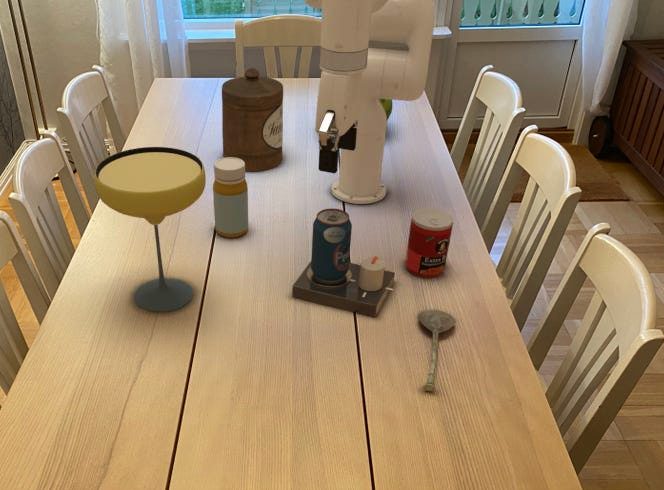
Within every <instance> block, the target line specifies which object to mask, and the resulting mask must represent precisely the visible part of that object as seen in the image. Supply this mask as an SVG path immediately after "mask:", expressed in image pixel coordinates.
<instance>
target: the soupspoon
mask: <svg viewBox="0 0 664 490" xmlns="http://www.w3.org/2000/svg"><path fill="white" fill-rule="evenodd" d="M417 318H418V320H419V322H420V323H421V324H422V325H423V326H424V327H425V328H427V330H429V331H430V332H431V333H432V340H431V342H432V344H431V356H430V357H431V358H430V367H429V373H428V374H427V375H428V377H427V379H426V383H425V384H424V385H423V390H425V391H427V392H433V391H434V390H435V389H436V387H435V385H434V384H435V383H434V380H435V379H434V377H435V369H436V362H437V350H438V341H439V334H441V333H444V332H446V331H449V330H450V329H451V328H453V327H454V326H455V325H456V322H457V321H456V319H455V317H454V316H452V314H450V313H448V312H445V311H442V310H438V309H428V310H423V311H421V312H419V313H418V314H417Z"/></svg>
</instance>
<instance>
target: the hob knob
mask: <svg viewBox="0 0 664 490" xmlns="http://www.w3.org/2000/svg"><path fill="white" fill-rule="evenodd" d="M359 265H360V272H359V282H358V285H359V287H360V288H361V289H363V290H366V291H377V290H380V289H381V288H382V286H383V277H384V270H385V269H386V263H385V262H384V261H383V259H380V258H378V256H376V255H375V256H374V257H373V256H372V257H365V258H363V259H361V260H360V263H359Z"/></svg>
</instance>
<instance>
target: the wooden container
mask: <svg viewBox="0 0 664 490" xmlns="http://www.w3.org/2000/svg"><path fill="white" fill-rule="evenodd" d="M221 109H222V110H221V121H222V122H221V124H222V125H221V126H222V128H221V130H222V155H223V156H222V158H227V157H233V158H239V159H241V160H243V161H244V163H245V172H261V171H266V170H270V169H274V168H275V167H277V166H278V165H280V164H281V163H282V161H283V141H284V140H283V139H284V137H283V136H284V84H283V83H282V82H280V81H279V80H277V79H275V78H272V77H267V76H260V71H259V70H258V69H256V68H254V67H251V68H248V69H246V70H245V72H244V76H239V77H234V78H231V79H228V80H226V81H224V82H223V83H222V85H221Z"/></svg>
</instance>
